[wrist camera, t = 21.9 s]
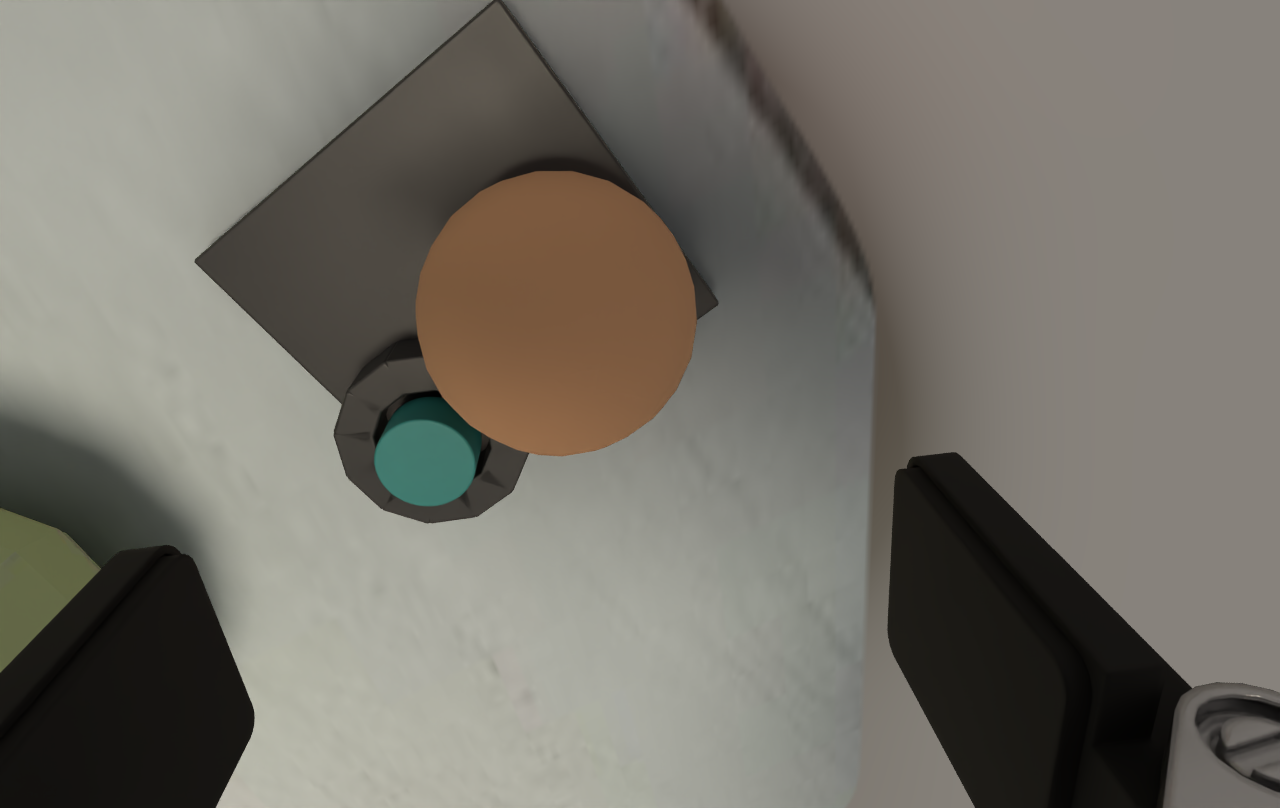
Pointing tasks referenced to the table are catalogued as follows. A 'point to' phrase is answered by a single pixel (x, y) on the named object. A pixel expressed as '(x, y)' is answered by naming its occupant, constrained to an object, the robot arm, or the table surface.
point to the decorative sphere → (35, 579)
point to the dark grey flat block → (404, 234)
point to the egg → (556, 313)
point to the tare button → (427, 453)
